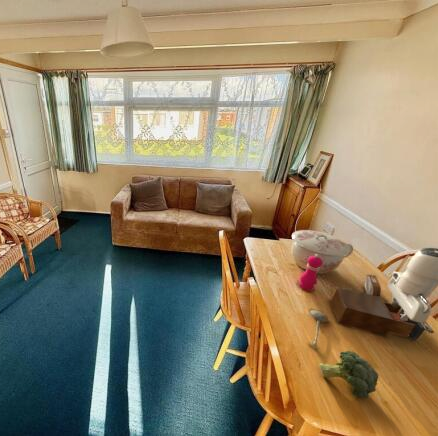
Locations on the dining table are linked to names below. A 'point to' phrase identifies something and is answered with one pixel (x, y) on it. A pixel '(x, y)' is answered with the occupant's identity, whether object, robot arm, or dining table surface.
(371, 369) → the vegetable
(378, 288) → the tin
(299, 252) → the chamber pot
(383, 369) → the dining table surface
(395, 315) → the block
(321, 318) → the soupspoon
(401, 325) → the drawer
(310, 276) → the pepper mill
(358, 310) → the cabinet
